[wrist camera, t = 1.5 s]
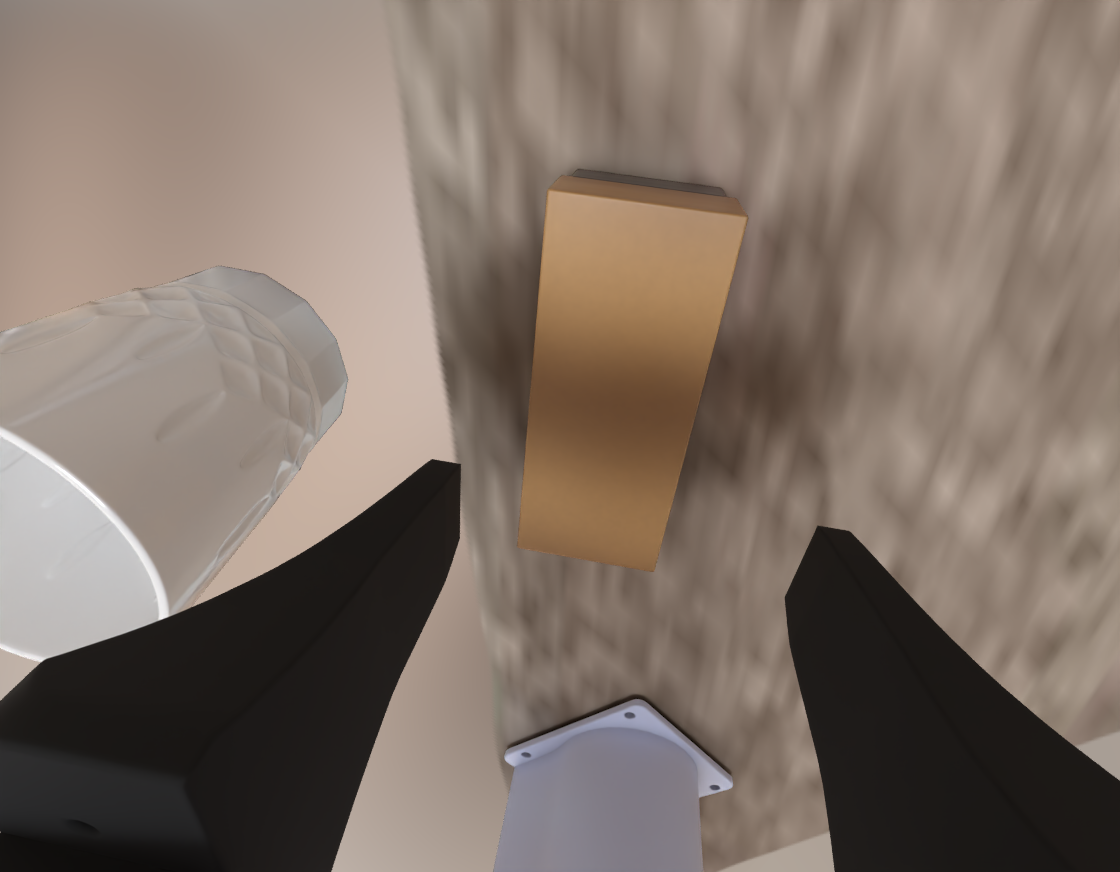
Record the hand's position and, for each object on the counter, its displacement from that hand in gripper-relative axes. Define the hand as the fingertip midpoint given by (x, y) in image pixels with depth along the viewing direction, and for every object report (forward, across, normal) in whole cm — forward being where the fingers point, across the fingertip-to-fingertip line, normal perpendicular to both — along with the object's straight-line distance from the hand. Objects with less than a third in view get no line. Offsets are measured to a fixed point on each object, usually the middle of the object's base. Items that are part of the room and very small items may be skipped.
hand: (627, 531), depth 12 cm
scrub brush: (+8, +1, 0) cm, 8 cm away
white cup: (+8, +13, +2) cm, 16 cm away
